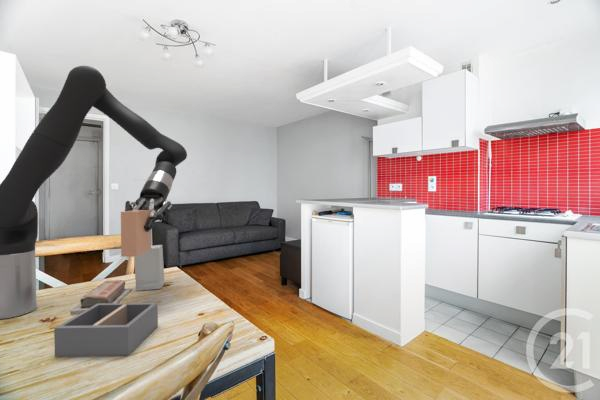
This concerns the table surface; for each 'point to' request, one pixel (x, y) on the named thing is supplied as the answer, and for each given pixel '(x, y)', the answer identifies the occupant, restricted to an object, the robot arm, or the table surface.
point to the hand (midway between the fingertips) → (137, 229)
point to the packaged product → (102, 295)
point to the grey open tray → (106, 330)
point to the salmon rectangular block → (134, 233)
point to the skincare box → (149, 269)
